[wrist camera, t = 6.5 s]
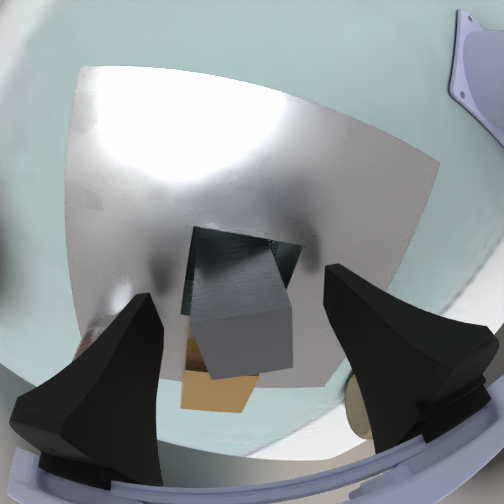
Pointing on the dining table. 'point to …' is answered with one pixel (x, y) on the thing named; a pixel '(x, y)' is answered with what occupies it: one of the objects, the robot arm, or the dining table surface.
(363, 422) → the ceramic mug
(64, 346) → the dining table surface
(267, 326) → the metal block
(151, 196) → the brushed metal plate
